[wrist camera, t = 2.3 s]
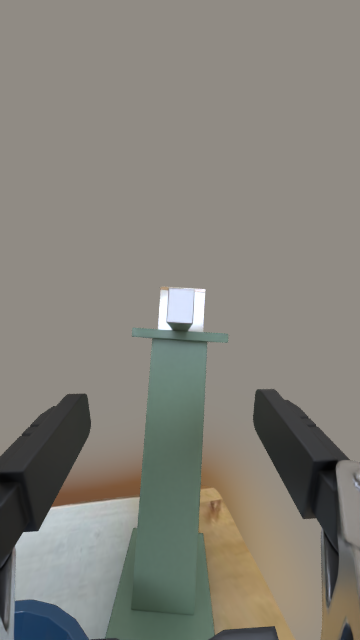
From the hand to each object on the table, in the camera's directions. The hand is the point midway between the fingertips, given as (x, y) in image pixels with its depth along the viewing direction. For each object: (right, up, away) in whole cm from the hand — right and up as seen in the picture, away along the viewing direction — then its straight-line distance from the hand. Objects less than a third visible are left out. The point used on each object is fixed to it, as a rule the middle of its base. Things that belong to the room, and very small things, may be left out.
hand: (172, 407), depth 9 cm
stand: (-2, -29, +15) cm, 33 cm away
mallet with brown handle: (0, +3, +12) cm, 12 cm away
